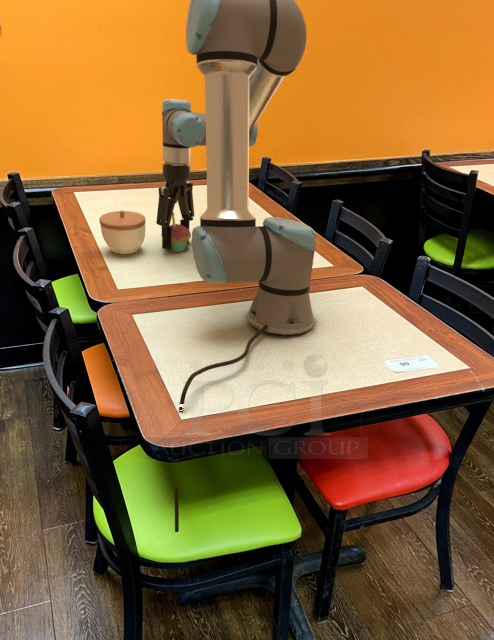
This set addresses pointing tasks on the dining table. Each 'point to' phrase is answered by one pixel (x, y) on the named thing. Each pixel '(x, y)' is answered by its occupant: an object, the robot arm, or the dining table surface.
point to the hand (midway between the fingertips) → (175, 245)
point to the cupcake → (179, 236)
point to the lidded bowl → (123, 231)
